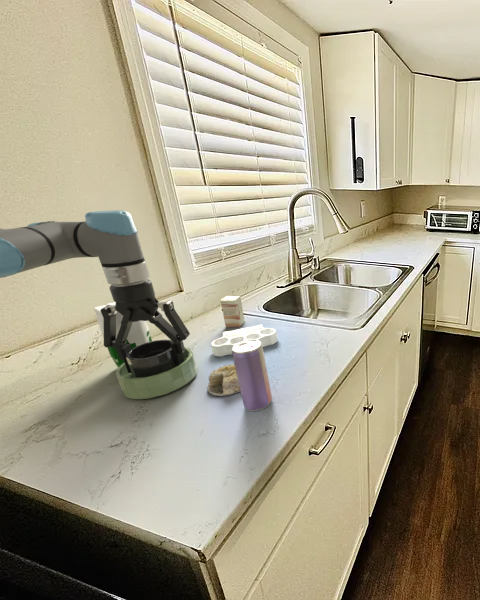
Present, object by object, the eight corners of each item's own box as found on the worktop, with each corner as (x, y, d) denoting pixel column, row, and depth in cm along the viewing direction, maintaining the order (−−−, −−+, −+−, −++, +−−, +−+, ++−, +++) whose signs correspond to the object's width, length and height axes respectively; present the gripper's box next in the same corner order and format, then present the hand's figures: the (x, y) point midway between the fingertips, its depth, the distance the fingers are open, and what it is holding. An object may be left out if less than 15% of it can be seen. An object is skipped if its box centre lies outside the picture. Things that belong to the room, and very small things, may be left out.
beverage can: (259, 415, 71) (247, 354, 65) (238, 408, 73) (224, 349, 67) (277, 398, 76) (267, 341, 70) (257, 393, 78) (246, 337, 72)
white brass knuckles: (272, 328, 111) (280, 347, 99) (213, 341, 103) (213, 363, 91) (271, 319, 109) (279, 337, 97) (210, 331, 101) (210, 352, 89)
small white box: (225, 327, 112) (219, 300, 109) (231, 322, 116) (225, 295, 113) (240, 327, 112) (234, 300, 109) (245, 321, 116) (240, 295, 113)
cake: (234, 371, 88) (231, 353, 86) (260, 381, 83) (259, 362, 82) (198, 389, 79) (194, 369, 77) (225, 401, 75) (223, 380, 73)
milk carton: (163, 363, 91) (142, 296, 84) (123, 378, 84) (97, 307, 77) (150, 354, 96) (129, 290, 88) (112, 368, 89) (86, 300, 82)
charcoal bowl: (122, 378, 77) (114, 358, 75) (156, 356, 86) (150, 338, 84) (159, 381, 76) (152, 360, 74) (189, 359, 85) (184, 340, 83)
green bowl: (106, 398, 76) (97, 377, 74) (160, 363, 91) (154, 344, 88) (165, 404, 74) (158, 382, 72) (210, 367, 89) (205, 347, 87)
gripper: (58, 291, 67) (95, 381, 75) (178, 283, 72) (201, 369, 80) (82, 280, 74) (114, 364, 82) (191, 274, 79) (211, 354, 87)
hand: (157, 367), depth 81 cm, fingers closed on charcoal bowl, 10 cm apart
